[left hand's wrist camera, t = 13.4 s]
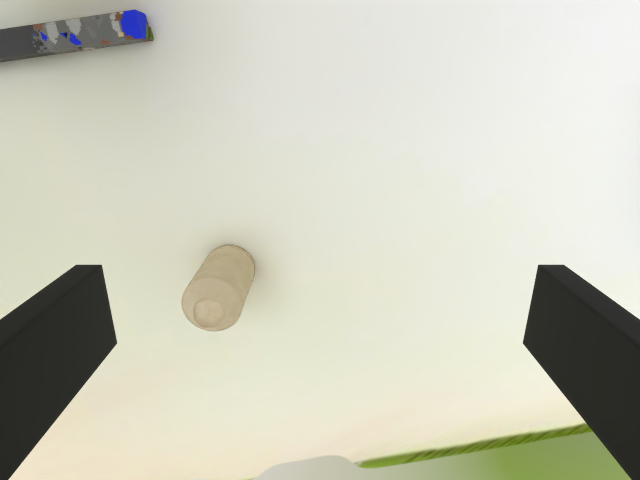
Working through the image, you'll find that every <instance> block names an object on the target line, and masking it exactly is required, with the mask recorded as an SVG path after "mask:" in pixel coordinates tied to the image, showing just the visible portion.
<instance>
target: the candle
mask: <svg viewBox="0 0 640 480" xmlns="http://www.w3.org/2000/svg"><path fill="white" fill-rule="evenodd" d="M254 272H255V269H254V263H253V260H252V258H251V257H250V255H249V254H248V253H247V252H246V251H244V250H243V249H241V248H239V247H236V246H231V245H227V246H221V247H218V248H216V249H215V250H213V251H212V252H211V253H210V254H209V255H208V257H207V258H206V260H205V261H204V263H203V264H202V266H201V267H200V269H199V270H198V271H197V273H196V274H195V276H194V277H193V279H192V280H191V282H190V283H189V285H188V286H187V288H186V289H185V291H184V293H183V296H182V309H183V312H184V314H185V316H186V317H187V319H188V320H189V321H190V322H191V323H192V324H194V325H195V326H197V327H199V328H201V329H204V330H207V331H221V330H225V329H227V328H229V327H231V326H232V325H233V324H235V323H236V321H237V320H238V318H239V317H240V314H241V311H242V309H243V306H244V303H245V300H246V297H247V294H248V292H249V289H250V286H251V283H252V280H253V277H254Z"/></svg>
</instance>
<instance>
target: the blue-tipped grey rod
mask: <svg viewBox="0 0 640 480" xmlns="http://www.w3.org/2000/svg"><path fill="white" fill-rule="evenodd" d="M151 40H153V36H152V32H151V28H150V27H148V23H147V20H146V16H145V14H144V13H141V12H139V11H137V10H130V11H123V12H116V13H109V14H103V15H96V16H89V17H82V18H75V19H69V20H62V21H55V22H48V23H41V24H35V25H28V26H21V27H14V28H7V29H1V30H0V62H4V61H11V60H18V59H25V58H32V57H39V56H46V55H53V54H60V53H67V52H74V51H81V50H88V49H95V48H102V47H109V46H116V45H123V44H130V43H137V42H144V41H151Z"/></svg>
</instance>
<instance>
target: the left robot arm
mask: <svg viewBox="0 0 640 480" xmlns="http://www.w3.org/2000/svg"><path fill="white" fill-rule="evenodd" d="M116 344H117V340H116V335H115V330H114V325H113V320H112V315H111V310H110V305H109V300H108V294H107V289H106V284H105V279H104V274H103V269H102V265H75V266H74V267H73V268H71V269H70V270H68V271H67V272H66V273H64V274H63V275H61V276H60V277H59V278H57V279H56V280H55V281H53V282H52V283H50V284H49V285H48V286H46V287H45V288H43V289H42V290H41V291H39V292H38V293H37V294H35V295H34V296H32V297H31V298H30V299H28V300H27V301H25V302H24V303H23V304H21V305H20V306H19V307H17V308H16V309H14V310H13V311H12V312H10V313H9V314H8V315H6V316H5V317H3V318H2V319H1V320H0V480H8V479H9V478H10V477H11V476H12V474H13V473H14V472H15V471H16V469H17V468H18V467H19V466H20V464H21V463H22V462H23V461H24V459H25V458H26V457H27V456H28V454H29V453H30V452H31V451H32V449H33V448H34V447H35V446H36V444H37V443H38V442H39V441H40V439H41V438H42V437H43V435H44V434H45V433H46V432H47V430H48V429H49V428H50V427H51V425H52V424H53V423H54V422H55V420H56V419H57V418H58V417H59V415H60V414H61V413H62V412H63V410H64V409H65V408H66V407H67V405H68V404H69V403H70V402H71V400H72V399H73V398H74V397H75V395H76V394H77V393H78V392H79V390H80V389H81V388H82V387H83V385H84V384H85V383H86V382H87V380H88V379H89V378H90V377H91V375H92V374H93V373H94V372H95V370H96V369H97V368H98V367H99V365H100V364H101V363H102V361H103V360H104V359H105V358H106V356H107V355H108V354H109V353H110V351H111V350H112V349H113V348H114V346H115V345H116ZM523 344H524V345H525V346H526V348H527V349H528V350H529V351H530V353H531V354H532V355H533V356H534V358H535V359H536V360H537V361H538V363H539V364H540V365H541V367H542V368H543V369H544V370H545V372H546V373H547V374H548V375H549V377H550V378H551V379H552V380H553V382H554V383H555V384H556V385H557V387H558V388H559V389H560V390H561V392H562V393H563V394H564V395H565V397H566V398H567V399H568V400H569V402H570V403H571V404H572V405H573V407H574V408H575V409H576V410H577V412H578V413H579V414H580V415H581V417H582V418H583V419H584V420H585V422H586V423H587V424H588V425H589V427H590V428H591V429H592V430H593V432H594V433H595V434H596V435H597V437H598V438H599V439H600V440H601V442H602V443H603V444H604V445H605V447H606V448H607V449H608V451H609V452H610V453H611V454H612V456H613V457H614V458H615V459H616V460H617V462H618V463H619V464H620V466H621V467H622V468H623V469H624V471H625V472H626V473H627V474H628V476H629V477H630V478H631V479H632V480H640V320H639V319H638V318H637V317H635V316H634V315H632V314H631V313H630V312H628V311H627V310H626V309H624V308H623V307H621V306H620V305H619V304H617V303H616V302H615V301H613V300H612V299H610V298H609V297H608V296H606V295H605V294H603V293H602V292H601V291H599V290H598V289H597V288H595V287H594V286H592V285H591V284H590V283H588V282H587V281H585V280H584V279H583V278H581V277H580V276H579V275H577V274H576V273H574V272H573V271H572V270H570V269H569V268H567V267H566V266H565V265H538V269H537V274H536V279H535V284H534V289H533V294H532V300H531V305H530V310H529V315H528V320H527V325H526V330H525V335H524V340H523Z"/></svg>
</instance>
